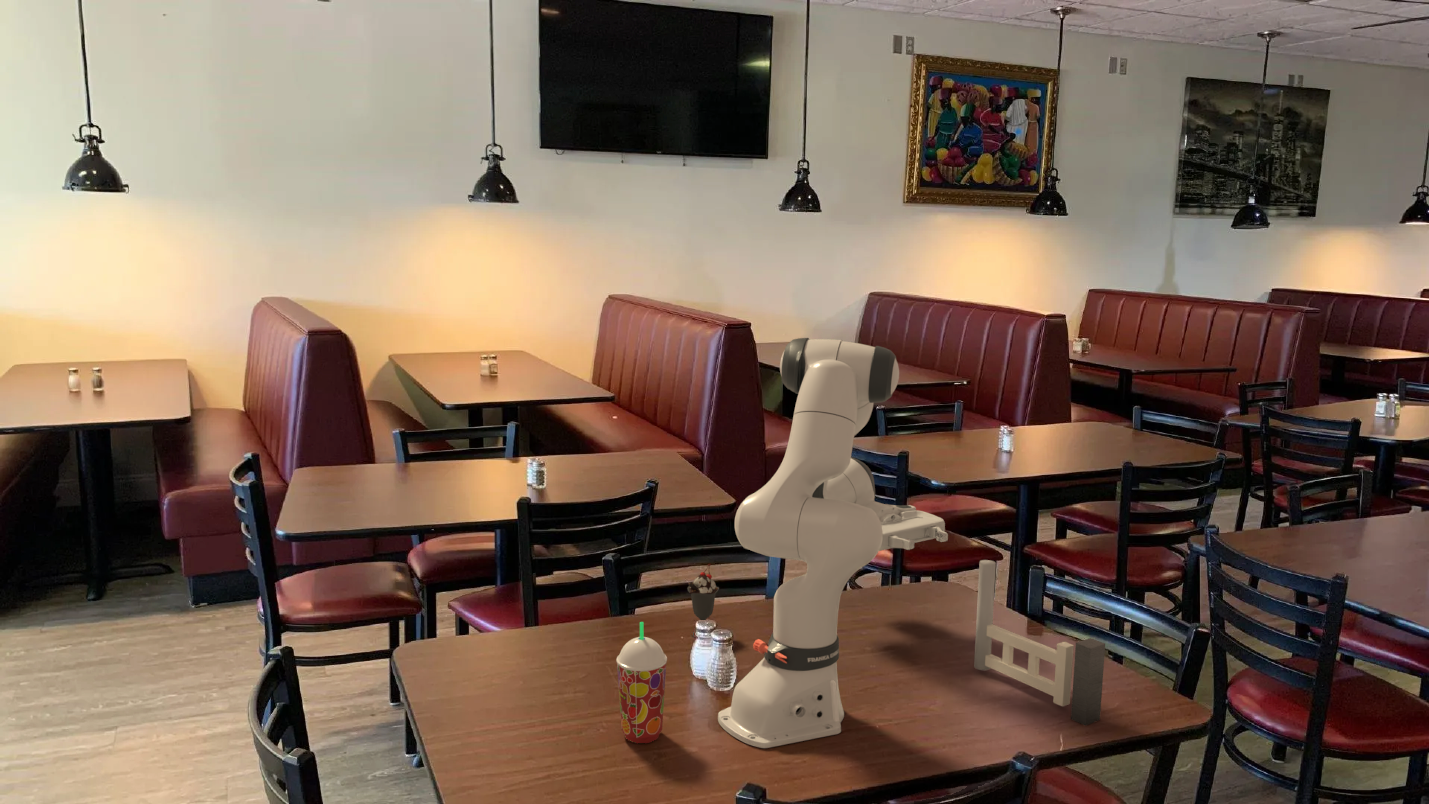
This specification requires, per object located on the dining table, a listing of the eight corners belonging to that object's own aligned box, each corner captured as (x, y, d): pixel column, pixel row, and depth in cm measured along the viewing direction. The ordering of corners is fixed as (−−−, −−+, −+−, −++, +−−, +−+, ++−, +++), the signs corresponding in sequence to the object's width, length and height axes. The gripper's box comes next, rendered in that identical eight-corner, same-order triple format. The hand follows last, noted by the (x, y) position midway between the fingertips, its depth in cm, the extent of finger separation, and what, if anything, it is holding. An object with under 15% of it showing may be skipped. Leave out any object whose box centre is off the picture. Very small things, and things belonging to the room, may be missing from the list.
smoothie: (620, 724, 179) (619, 612, 176) (668, 725, 179) (668, 613, 176) (614, 747, 171) (613, 631, 168) (664, 748, 171) (664, 632, 167)
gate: (1071, 703, 186) (1079, 590, 183) (1060, 707, 185) (1068, 593, 181) (981, 662, 203) (986, 559, 200) (970, 666, 202) (976, 561, 198)
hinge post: (1085, 725, 180) (1090, 648, 178) (1070, 719, 182) (1075, 642, 180) (1099, 719, 182) (1105, 643, 180) (1085, 713, 184) (1090, 638, 182)
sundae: (720, 629, 222) (720, 561, 220) (717, 641, 216) (717, 571, 213) (689, 627, 223) (689, 560, 220) (685, 639, 216) (685, 570, 214)
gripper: (844, 518, 216) (891, 534, 204) (916, 503, 227) (964, 518, 216) (844, 547, 217) (890, 565, 206) (915, 531, 228) (962, 548, 217)
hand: (928, 541), depth 211 cm, fingers open, 8 cm apart
